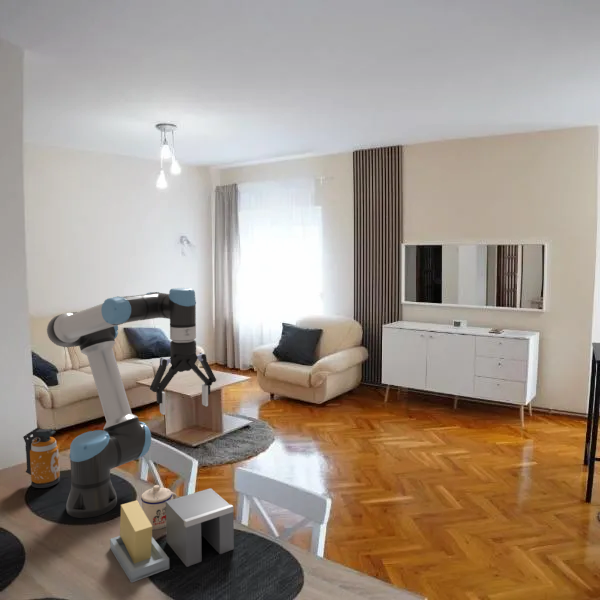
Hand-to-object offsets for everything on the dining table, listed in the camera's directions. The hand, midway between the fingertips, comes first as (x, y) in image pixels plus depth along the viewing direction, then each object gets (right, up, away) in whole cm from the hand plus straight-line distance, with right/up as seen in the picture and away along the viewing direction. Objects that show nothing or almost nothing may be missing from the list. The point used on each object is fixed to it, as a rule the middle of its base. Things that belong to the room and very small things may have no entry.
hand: (184, 409), depth 159 cm
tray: (-9, -37, -17) cm, 41 cm away
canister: (-55, -32, +26) cm, 69 cm away
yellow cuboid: (-10, -35, -14) cm, 39 cm away
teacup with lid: (-8, -35, +2) cm, 36 cm away
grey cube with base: (+7, -36, -11) cm, 38 cm away
